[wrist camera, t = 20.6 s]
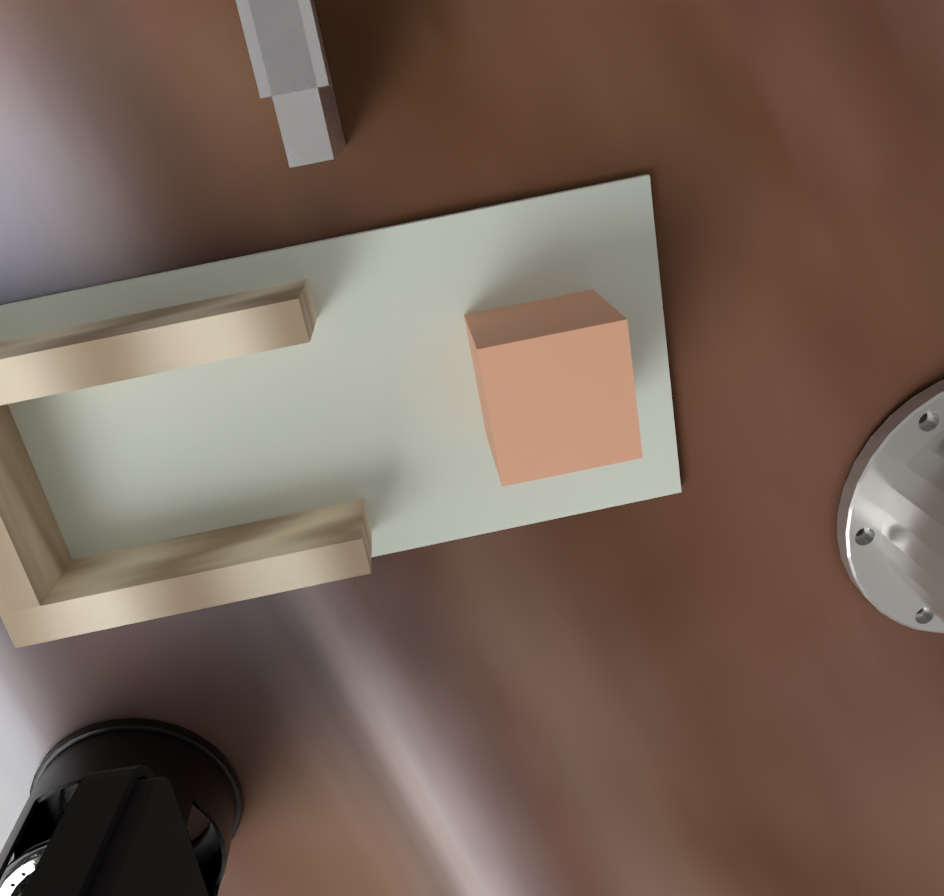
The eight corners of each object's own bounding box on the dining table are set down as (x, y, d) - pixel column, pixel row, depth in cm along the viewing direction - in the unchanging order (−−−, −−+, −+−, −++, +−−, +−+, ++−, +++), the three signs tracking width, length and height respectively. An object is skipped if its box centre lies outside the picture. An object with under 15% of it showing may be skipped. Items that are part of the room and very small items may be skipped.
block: (592, 289, 33) (627, 319, 28) (608, 410, 35) (642, 457, 30) (463, 314, 33) (476, 349, 28) (486, 435, 35) (502, 486, 30)
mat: (646, 174, 32) (649, 175, 31) (678, 488, 37) (681, 492, 36) (-67, 318, 31) (-72, 321, 31) (62, 617, 36) (59, 622, 36)
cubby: (306, 278, 32) (298, 298, 28) (372, 530, 36) (371, 573, 32) (-59, 352, 31) (-110, 381, 28) (49, 598, 35) (15, 648, 32)
